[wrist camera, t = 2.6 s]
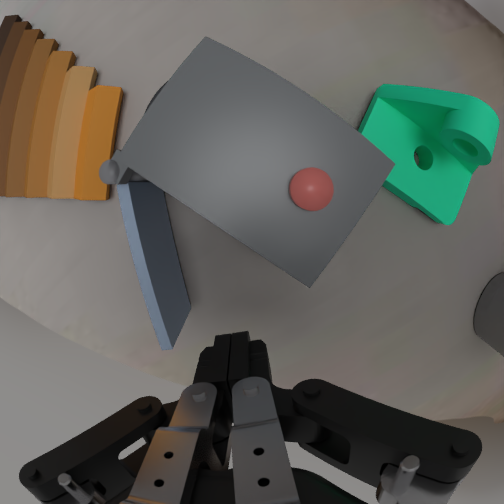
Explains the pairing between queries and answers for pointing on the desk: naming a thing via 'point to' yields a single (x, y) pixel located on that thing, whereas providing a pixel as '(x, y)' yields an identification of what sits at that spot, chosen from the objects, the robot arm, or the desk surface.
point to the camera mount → (430, 144)
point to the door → (155, 257)
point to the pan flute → (51, 119)
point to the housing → (254, 159)
